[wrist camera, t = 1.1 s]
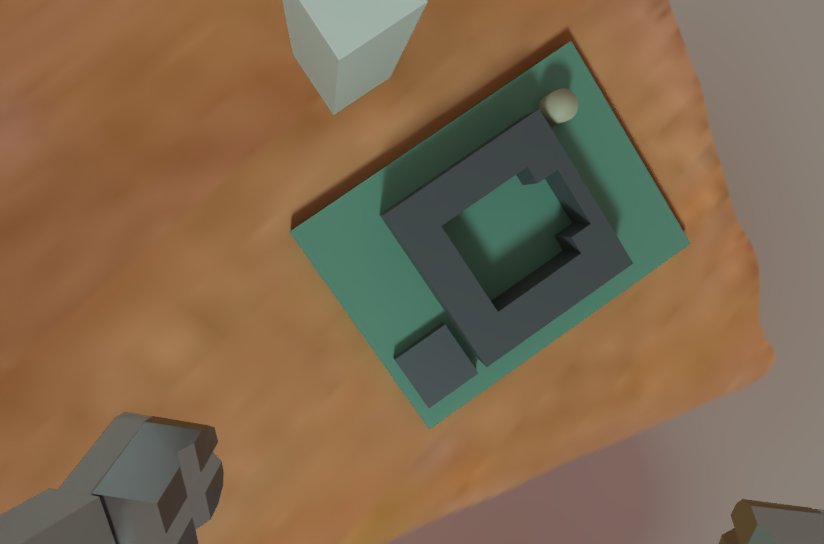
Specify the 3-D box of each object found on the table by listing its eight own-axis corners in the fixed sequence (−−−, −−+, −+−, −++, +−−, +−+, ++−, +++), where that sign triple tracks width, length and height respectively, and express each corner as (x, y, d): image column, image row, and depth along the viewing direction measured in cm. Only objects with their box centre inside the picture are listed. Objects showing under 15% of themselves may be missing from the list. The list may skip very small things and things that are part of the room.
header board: (426, 424, 43) (437, 446, 39) (290, 231, 41) (286, 233, 37) (682, 242, 44) (717, 245, 41) (565, 44, 42) (590, 27, 38)
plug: (333, 115, 40) (341, 37, 22) (293, 55, 40) (267, -77, 21) (402, 68, 41) (466, -46, 22) (364, 8, 40) (397, -160, 22)
